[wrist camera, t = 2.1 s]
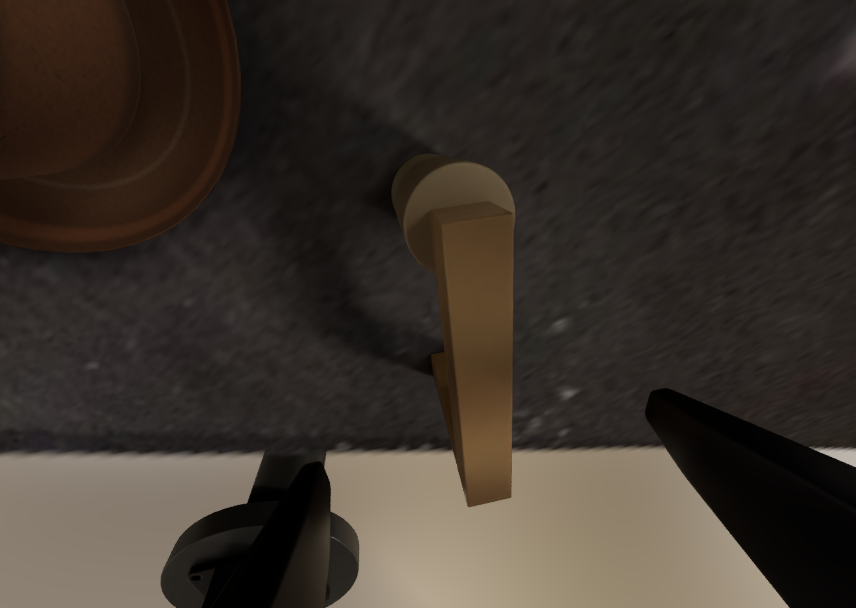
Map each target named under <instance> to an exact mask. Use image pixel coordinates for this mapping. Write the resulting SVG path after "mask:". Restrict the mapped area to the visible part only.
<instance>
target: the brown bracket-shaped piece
mask: <svg viewBox="0 0 856 608" xmlns="http://www.w3.org/2000/svg"><path fill="white" fill-rule="evenodd" d="M392 202H393V206H394V209H395V211H396V214H397V217H398V220H399V223H400V226H401V229H402V232H403V235H404V238H405V241H406V244H407V246H408V248H409V250H410V252H411V254H412V255H413V257H414V258H415V259H416V260H417V261H418V263H419V264H421V265H422V266H423V267H424V268H426V269H427V270H429V271H431V272H433V273H435V274H436V279H437V288H438V297H439V306H440V315H441V324H442V333H443V342H444V351H445V352H440V353H435V354H431V361H432V368H433V375H434V380H435V384H436V388H437V391H438V395H439V399H440V403H441V407H442V410H443V414H444V418H445V422H446V426H447V429H448V433H449V437H450V441H451V445H452V448H453V452H454V456H455V460H456V463H457V467H458V472H459V475H460V478H461V483H462V487H463V491H464V494H465V498H466V502H467V506H468V507H472V506H477V505H481V504H485V503H490V502H494V501H498V500H503V499H507V498H511V475H512V474H511V473H512V352H513V229H514V224H515V207H514V201H513V198H512V195H511V192H510V190H509V188H508V186H507V185H506V184H505V182H504V181H503V180H502V178H501V177H500V176H499V175H498V174H496V173H495V172H494V171H493V170H491V169H489V168H488V167H486V166H483V165H481V164H478V163H473V162H469V161H464V160H460V159H455V158H450V157H446V156H441V155H437V154H421V155H418V156H415V157H413V158H411V159H409V160H408V161H407V162H405V163H404V164H403V165H402V166H401V168H400V169H399V170H398V172H397V174H396V176H395V178H394V181H393V184H392Z"/></svg>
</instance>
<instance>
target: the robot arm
mask: <svg viewBox="0 0 856 608" xmlns="http://www.w3.org/2000/svg"><path fill="white" fill-rule="evenodd" d="M645 416H646V419H647V421H648V422H649V424H650V425H651V427H652V428H653V430H654V431H655V433H656V434H657V436H658V437H659V439H660V440H661V442H662V443H663V445H664V446H665V448H666V449H667V451H668V452H669V454H670V455H671V457H672V458H673V460H674V461H675V463H676V464H677V466H678V467H679V469H680V470H681V472H682V473H683V474H684V475H685V477H686V478H687V480H688V481H689V482H690V483H691V485H692V486H693V487H694V488H695V490H696V491H697V492H698V494H699V495H700V496H701V497H702V499H703V500H704V501H705V502H706V503H707V505H708V506H709V507H710V508H711V510H712V511H713V512H714V514H715V515H716V516H717V517H718V519H719V520H720V521H721V522H722V524H723V525H724V526H725V527H726V529H727V530H728V531H729V532H730V534H731V535H732V536H733V537H734V539H735V540H736V541H737V542H738V544H739V545H740V546H741V547H742V549H743V550H744V551H745V552H746V554H747V555H748V556H749V557H750V559H751V560H752V561H753V562H754V564H755V565H756V566H757V568H758V569H759V570H760V571H761V573H762V574H763V575H764V576H765V578H766V579H767V580H768V581H769V583H770V584H771V585H772V586H773V588H774V589H775V590H776V591H777V592H778V594H779V595H780V596H781V598H782V599H783V600H784V601H785V602H786V604H787V605H788V606H789V608H856V467H853V466H851V465H849V464H846V463H844V462H842V461H839V460H837V459H835V458H832V457H830V456H827V455H825V454H823V453H820V452H818V451H816V450H813V449H811V448H809V447H806V446H804V445H802V444H799V443H797V442H794V441H792V440H790V439H787V438H785V437H783V436H780V435H778V434H775V433H773V432H771V431H768V430H766V429H764V428H761V427H759V426H757V425H754V424H752V423H749V422H747V421H745V420H742V419H740V418H738V417H735V416H733V415H730V414H728V413H726V412H723V411H721V410H719V409H716V408H714V407H711V406H709V405H707V404H704V403H702V402H700V401H697V400H695V399H693V398H690V397H688V396H685V395H683V394H681V393H678V392H676V391H674V390H671V389H668V388H663V389H658V390H654V391H652V392H651V393H650V395H649V399H648V402H647V406H646V410H645ZM330 497H331V488H330V481H329V479H328V476H327V474H326V471H325V469H324V466H323V464H322V463H321V462H320V461H317V462H313V463H308V464H305V465H304V466H303V467H302V468H301V470H300V471H299V473H298V474H297V476H296V477H295V479H294V480H293V482H292V483H291V485H290V486H289V488H288V490H287V491H286V493H285V494H284V496H283V497H282V499H281V500H280V502H279V503H278V505H277V506H276V508H275V509H274V511H273V513H272V514H271V516H270V517H269V519H268V520H267V522H266V523H265V525H264V526H263V528H262V529H261V531H260V532H259V534H258V536H257V537H256V539H255V540H254V542H253V543H252V545H251V546H250V548H249V549H248V551H247V552H246V554H242V555H238V556H233V557H229V558H225V559H220V560H216V561H212V562H207V563H203V564H199V565H195V566H192V567H191V568H190V570H189V572H188V575H187V577H186V579H187V581H188V582H189V583H190V584H191V585H192V586H193V587H194V588H195V589H196V590H197V591H198V592H199V593H200V594H201V595H202V597H203V601H202V603H201V606H200V608H324V602H325V601H327V600H328V599H329V596H330V589H329V587H328V585H327V576H328V567H329V553H330V500H331V499H330Z"/></svg>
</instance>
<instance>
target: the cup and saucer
mask: <svg viewBox="0 0 856 608" xmlns="http://www.w3.org/2000/svg"><path fill="white" fill-rule="evenodd" d="M240 110H241V71H240V59H239V53H238V46H237V39H236V34H235V30H234V25H233V21H232V17H231V13H230V8H229V5H228V2H227V0H0V243H2V244H6V245H10V246H15V247H21V248H27V249H33V250H40V251H51V252H72V253H83V252H98V251H106V250H112V249H118V248H123V247H127V246H130V245H134V244H138V243H140V242H143V241H146V240H148V239H151V238H154V237H156V236H158V235H160V234H162V233H164V232H165V231H167V230H169V229H171V228H172V227H174V226H175V225H177V224H178V223H180V222H181V221H183V220H184V219H185V218H186V217H188V216H189V215H190V214H191V213H192V212H193V211H194V210H196V209H197V208H198V206H199V205H200V204H201V203H202V202H203V201H204V200H205V199H206V197H207V196H208V195H209V194H210V192H211V191H212V189H213V188H214V186H215V185H216V184H217V182H218V181H219V179H220V177H221V175H222V173H223V171H224V169H225V167H226V165H227V163H228V160H229V158H230V155H231V152H232V149H233V147H234V143H235V139H236V135H237V130H238V125H239V117H240Z"/></svg>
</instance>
